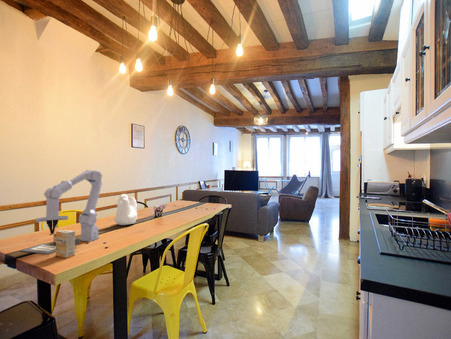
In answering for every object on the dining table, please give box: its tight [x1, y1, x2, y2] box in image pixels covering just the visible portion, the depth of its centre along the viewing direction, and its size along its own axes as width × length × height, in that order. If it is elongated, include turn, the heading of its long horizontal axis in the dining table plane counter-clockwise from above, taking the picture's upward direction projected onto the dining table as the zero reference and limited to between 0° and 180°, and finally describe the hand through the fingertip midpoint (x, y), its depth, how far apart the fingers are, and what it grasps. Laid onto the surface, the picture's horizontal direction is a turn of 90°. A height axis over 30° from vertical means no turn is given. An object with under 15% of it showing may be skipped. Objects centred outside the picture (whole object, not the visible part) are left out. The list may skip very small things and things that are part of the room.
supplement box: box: [55, 228, 76, 259], centre depth 125 cm, size 8×5×13 cm, turn 69°
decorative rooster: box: [114, 193, 139, 226], centre depth 197 cm, size 25×16×25 cm, turn 159°
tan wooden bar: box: [53, 233, 80, 246], centre depth 140 cm, size 18×4×5 cm, turn 68°
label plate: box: [21, 243, 56, 255], centre depth 134 cm, size 18×12×1 cm, turn 78°
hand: (52, 233), depth 135 cm, fingers closed
